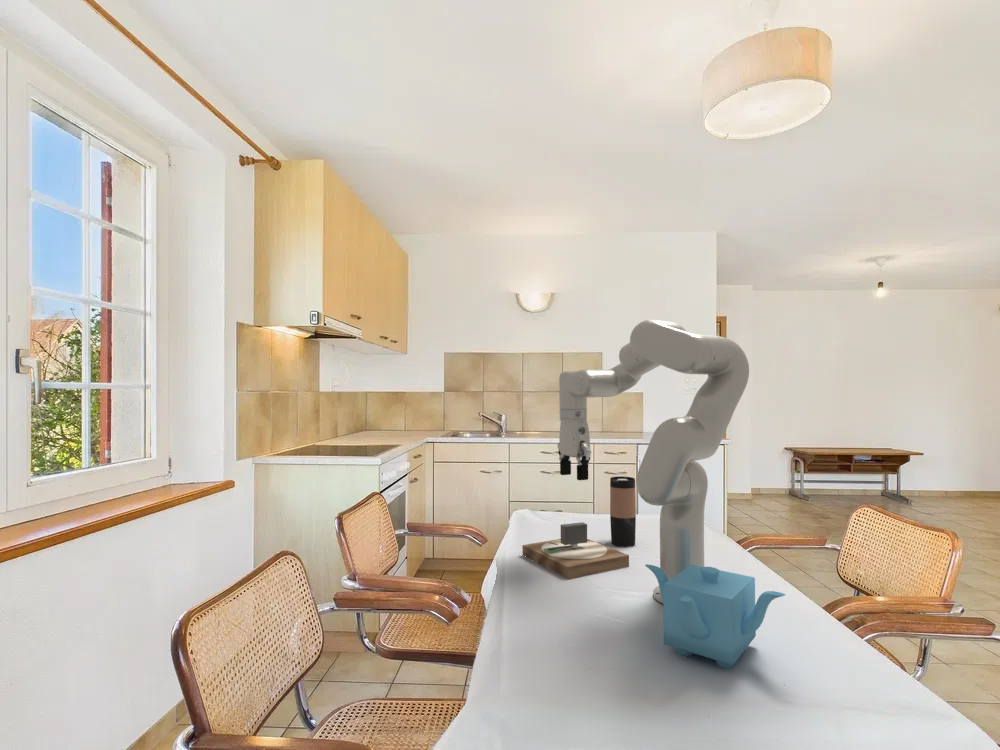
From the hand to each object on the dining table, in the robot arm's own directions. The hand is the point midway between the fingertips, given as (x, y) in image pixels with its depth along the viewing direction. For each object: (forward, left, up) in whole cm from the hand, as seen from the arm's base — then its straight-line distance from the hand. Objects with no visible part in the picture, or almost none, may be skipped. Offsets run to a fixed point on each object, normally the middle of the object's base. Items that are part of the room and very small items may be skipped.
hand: (573, 477), depth 151 cm
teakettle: (-54, +10, -23) cm, 60 cm away
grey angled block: (0, +2, -19) cm, 19 cm away
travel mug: (+6, -23, -23) cm, 33 cm away
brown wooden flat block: (0, 0, -23) cm, 23 cm away
